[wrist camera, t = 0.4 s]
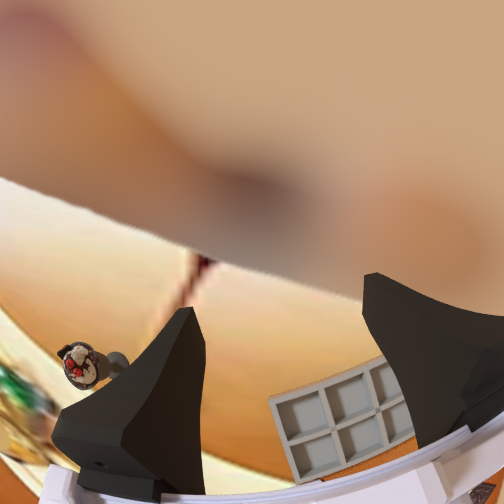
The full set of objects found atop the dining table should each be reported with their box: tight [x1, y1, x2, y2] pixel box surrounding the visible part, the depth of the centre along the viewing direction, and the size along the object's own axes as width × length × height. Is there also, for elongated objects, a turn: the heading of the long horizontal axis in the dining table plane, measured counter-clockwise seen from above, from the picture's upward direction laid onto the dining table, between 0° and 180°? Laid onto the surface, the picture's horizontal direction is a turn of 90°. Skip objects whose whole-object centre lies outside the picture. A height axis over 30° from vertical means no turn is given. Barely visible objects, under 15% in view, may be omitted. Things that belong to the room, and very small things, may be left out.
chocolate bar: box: [468, 483, 496, 504], centre depth 24 cm, size 9×1×18 cm
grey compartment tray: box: [268, 355, 415, 485], centre depth 33 cm, size 14×21×3 cm
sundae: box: [57, 342, 129, 390], centre depth 32 cm, size 7×7×15 cm
